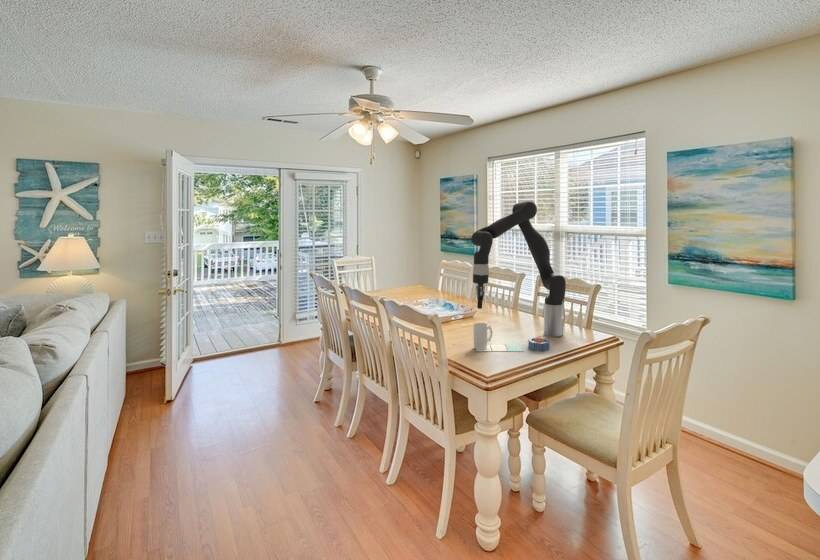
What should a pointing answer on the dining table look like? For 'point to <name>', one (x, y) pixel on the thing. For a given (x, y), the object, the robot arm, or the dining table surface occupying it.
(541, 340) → the dome button
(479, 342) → the mug
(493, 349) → the board
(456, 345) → the dining table surface
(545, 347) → the blue ribbed round dish
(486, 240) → the robot arm
